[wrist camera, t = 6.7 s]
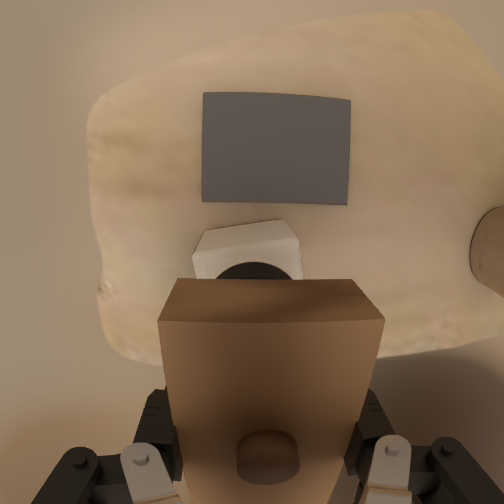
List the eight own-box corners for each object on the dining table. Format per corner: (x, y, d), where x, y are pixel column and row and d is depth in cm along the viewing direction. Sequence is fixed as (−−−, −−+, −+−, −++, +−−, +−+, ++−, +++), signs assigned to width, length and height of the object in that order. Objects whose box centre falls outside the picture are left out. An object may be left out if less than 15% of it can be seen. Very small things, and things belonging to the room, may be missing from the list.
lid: (351, 279, 11) (400, 337, 7) (316, 458, 14) (330, 520, 10) (177, 278, 11) (148, 340, 7) (197, 461, 14) (190, 525, 10)
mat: (346, 101, 25) (350, 100, 24) (343, 203, 27) (346, 205, 26) (204, 94, 24) (203, 92, 24) (203, 200, 27) (202, 201, 26)
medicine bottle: (202, 230, 28) (176, 281, 16) (285, 217, 28) (316, 261, 16) (217, 305, 30) (205, 389, 18) (294, 293, 30) (323, 373, 18)
